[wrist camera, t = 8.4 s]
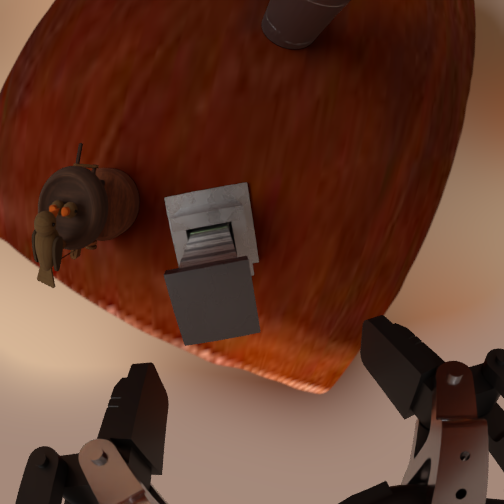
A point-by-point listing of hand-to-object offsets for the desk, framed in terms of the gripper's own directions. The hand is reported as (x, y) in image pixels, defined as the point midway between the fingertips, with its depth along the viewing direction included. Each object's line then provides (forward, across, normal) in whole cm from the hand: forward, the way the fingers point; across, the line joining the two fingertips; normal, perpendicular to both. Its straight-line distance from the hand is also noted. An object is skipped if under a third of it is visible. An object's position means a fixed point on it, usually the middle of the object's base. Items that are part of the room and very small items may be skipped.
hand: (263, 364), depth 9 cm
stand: (+32, +2, +1) cm, 32 cm away
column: (+26, +2, +1) cm, 26 cm away
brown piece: (+32, +17, -7) cm, 37 cm away
